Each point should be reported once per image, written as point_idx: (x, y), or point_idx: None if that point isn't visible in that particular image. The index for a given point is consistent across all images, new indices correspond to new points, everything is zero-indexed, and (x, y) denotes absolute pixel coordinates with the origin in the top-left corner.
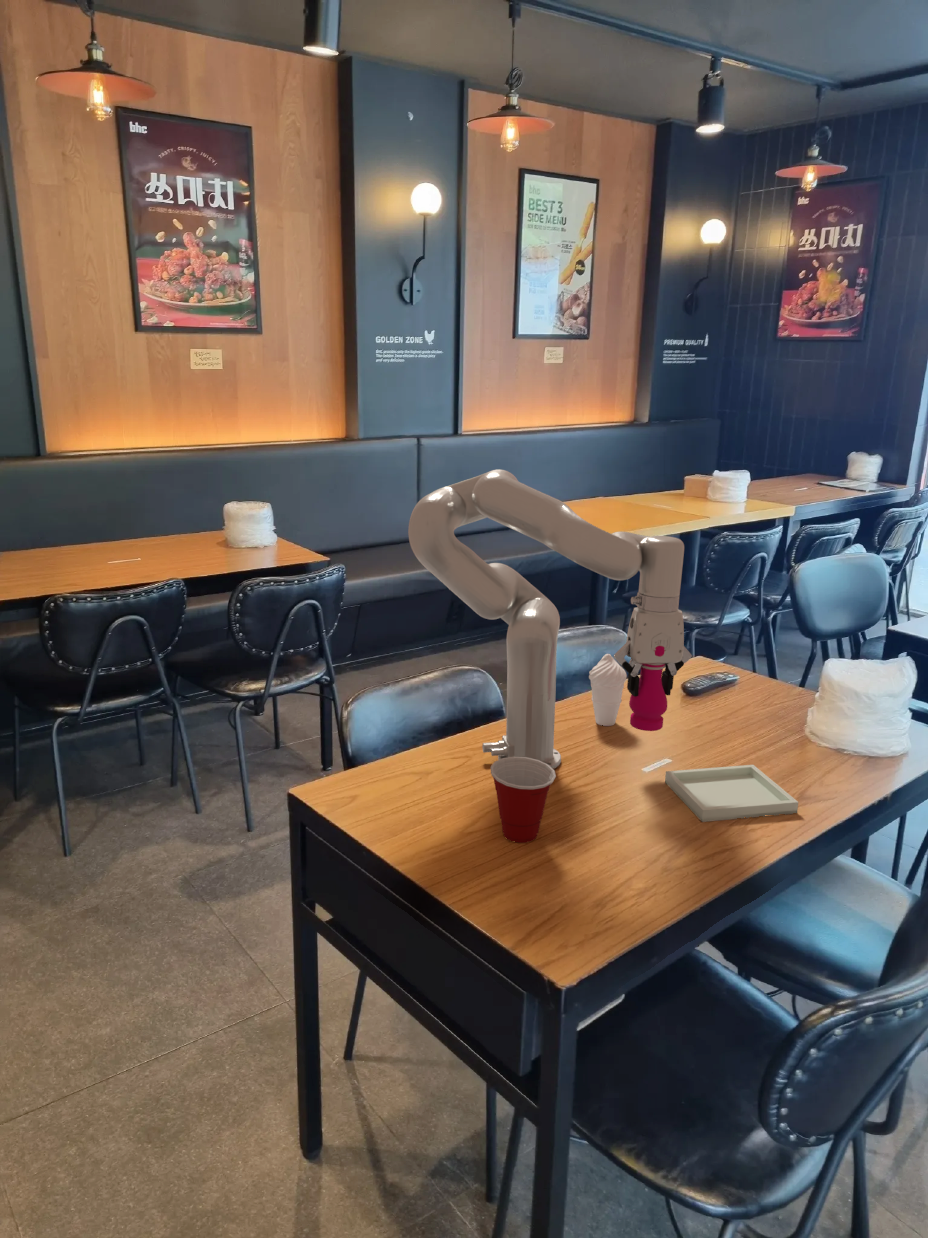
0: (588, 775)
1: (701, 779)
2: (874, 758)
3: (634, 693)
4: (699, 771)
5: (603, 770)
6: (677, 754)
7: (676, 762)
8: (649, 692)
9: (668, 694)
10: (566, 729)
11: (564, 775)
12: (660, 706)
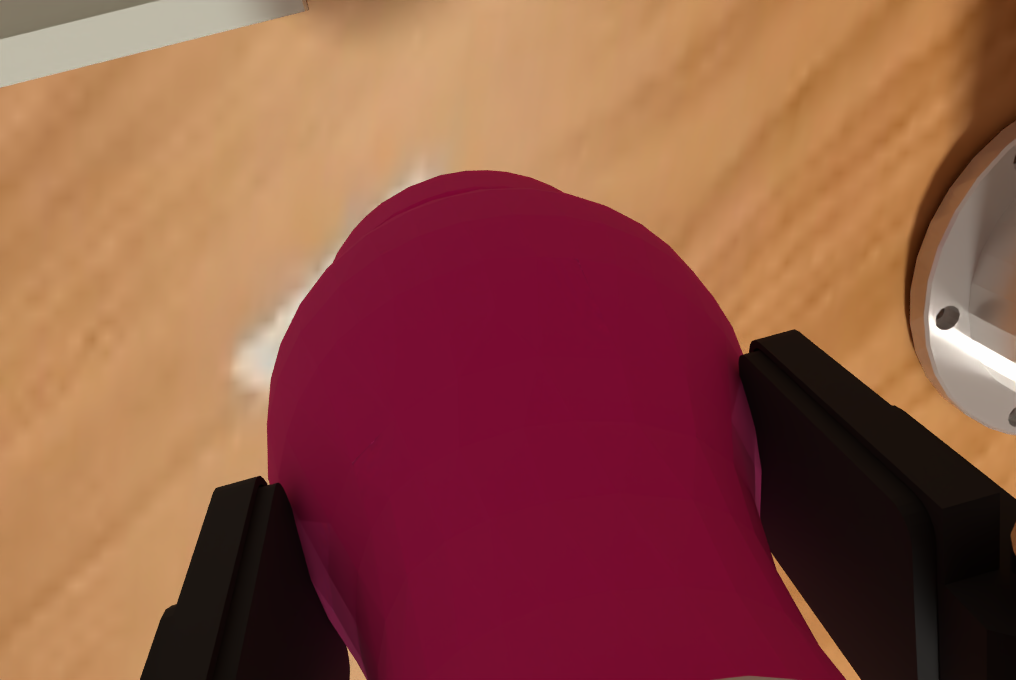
0: (794, 87)
1: (26, 20)
2: None
3: (811, 354)
4: (26, 35)
5: (689, 171)
6: (188, 458)
7: (202, 340)
8: (598, 352)
9: (245, 481)
10: None
11: (934, 76)
12: (384, 249)
